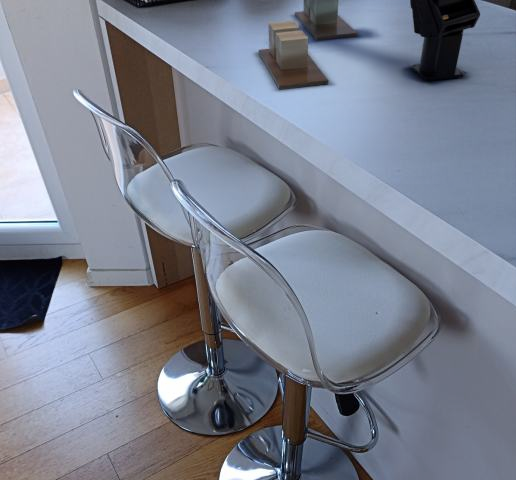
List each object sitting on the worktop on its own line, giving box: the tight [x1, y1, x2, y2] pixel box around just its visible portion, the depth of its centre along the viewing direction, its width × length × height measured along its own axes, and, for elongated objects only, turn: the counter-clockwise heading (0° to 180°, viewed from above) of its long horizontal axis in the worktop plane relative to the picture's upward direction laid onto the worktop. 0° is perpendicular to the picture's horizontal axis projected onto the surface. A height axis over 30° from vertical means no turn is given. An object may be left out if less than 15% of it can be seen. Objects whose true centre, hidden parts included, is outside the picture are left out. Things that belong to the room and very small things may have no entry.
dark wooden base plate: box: [294, 0, 358, 41], centre depth 107 cm, size 19×8×5 cm, turn 10°
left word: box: [258, 19, 329, 90], centre depth 90 cm, size 19×8×5 cm, turn 10°
